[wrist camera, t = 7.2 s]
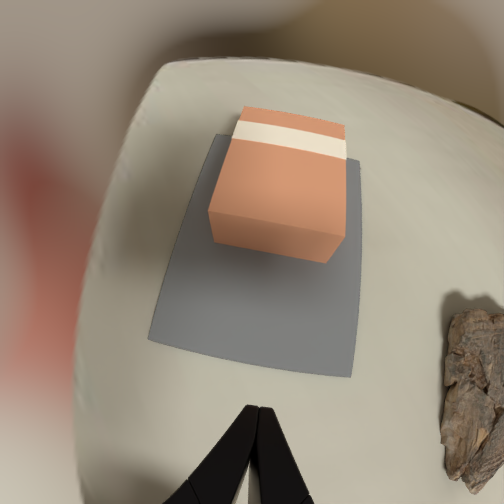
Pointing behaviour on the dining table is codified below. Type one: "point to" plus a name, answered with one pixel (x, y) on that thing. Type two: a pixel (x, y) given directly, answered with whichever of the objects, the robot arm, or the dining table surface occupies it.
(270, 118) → the tall box
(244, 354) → the mat
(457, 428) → the weathered wood piece
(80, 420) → the dining table surface
